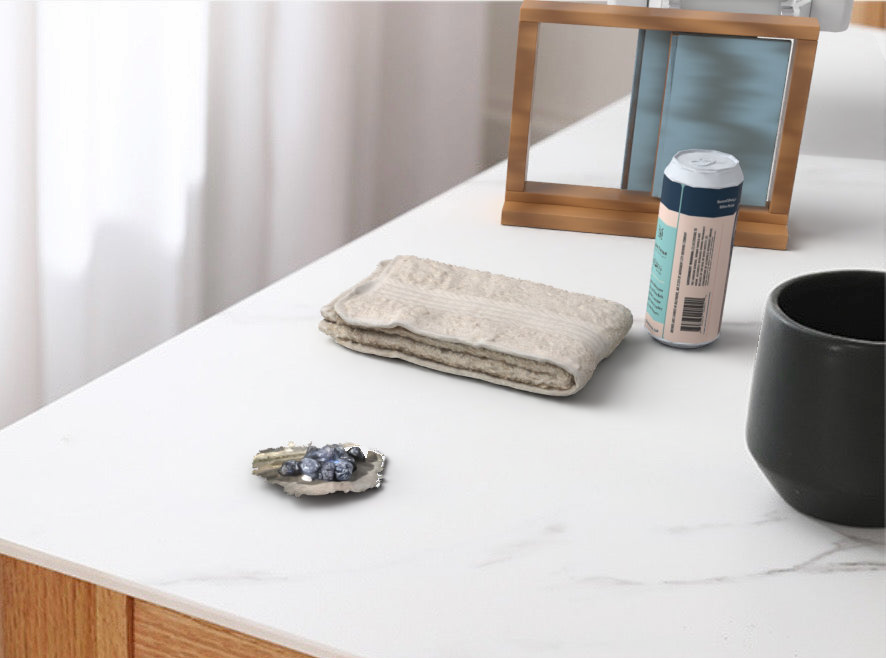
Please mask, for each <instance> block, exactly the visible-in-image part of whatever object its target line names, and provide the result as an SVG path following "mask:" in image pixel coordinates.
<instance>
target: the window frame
mask: <svg viewBox="0 0 886 658" xmlns="http://www.w3.org/2000/svg"><path fill="white" fill-rule="evenodd" d="M541 24H557V25H572V26H573V25H575V26H588V27H601V28H603V27H604V28H617V29H618V28H619V29H632V30H633V29H635V30H639V29H648V30H663V31H679V32H694V33H709V34H694V33H679V32H671V38H670V46H669V54H668V62H667V69H666V77H665V85H664V93H663V101H662V109H661V117H660V125H659V133H658V141H657V149H656V157H655V165H654V173H653V181H652V189H651V192H646V191H634V190H622V189H620V188H618V187H617V188H616V187H606V186H605V187H604V186H595V185H594V186H592V185H583V184H582V185H581V184H572V183H571V184H569V183H560V182H559V183H558V182H548V181H547V182H546V181H535V180H528V170H529V159H530V150H531V149H530V148H531V139H532V138H531V137H532V126H533V125H532V124H533V116H534V115H533V114H534V102H535V92H536V91H535V90H536V78H537V70H538V69H537V67H538V58H539V57H538V56H539V45H540V44H539V43H540V34H541V33H540V32H541ZM820 32H821V31H820V25H819V22H818V19H817V18H812V17H796V16H780V15H764V14H748V13H733V12H717V11H701V10H685V9H669V8H653V7H637V6H621V5H607V4H605V3H604V4H603V3H602V4H601V3H587V2H586V3H585V2H571V1H557V0H556V1H555V0H523V1H522V3H521V4H520V8H519V17H518V29H517V40H516V41H517V43H516V54H515V65H514V67H515V68H514V78H513V89H512V90H513V91H512V106H511V116H510V128H509V140H508V152H507V166H506V178H505V188H504V189H505V191H504V202H503V205H502V208H501V215H500V225H504V226H514V227H515V226H516V227H526V228H537V229H547V230H560V231H568V232H570V231H571V232H581V233H592V234H602V235H603V234H604V235H615V236H625V237H635V238H636V237H637V238H649V239H656V231H657V223H658V216H659V208H660V200H661V192H662V185H663V177H664V170H665V169H666V167H667V166H668V165H669V164H670V162H671V160H672V159H673V156H674V155H676V154H677V153H678V152H679V151H684V150H691V149H703V150H715V151H719V152H723V153H726V154H730V155H732V156H733V157H735V158H736V159H737V160H738V161H739V165H740V167H741V170H742V173H743V176H744V180H743V187H742V193H741V200H740V206H739V213H738V219H737V226H736V232H735V239H734V245H733V246H736V247H737V246H738V247H748V248H758V249H770V250H778V251H779V250H781V251H786V250H787V247H788V241H789V231H788V221H789V216H790V208H791V204H792V197H793V192H794V186H795V180H796V174H797V169H798V162H799V156H800V151H801V145H802V138H803V132H804V127H805V121H806V114H807V110H808V103H809V97H810V92H811V86H812V85H811V84H812V80H813V74H814V73H813V72H814V67H815V62H816V56H817V50H818V43H819V38H820V34H821V33H820ZM710 34H725V35H740V36H755V37H758V38H755V37H740V36H725V35H710ZM792 40H793V42H792Z"/></svg>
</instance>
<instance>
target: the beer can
mask: <svg viewBox="0 0 886 658" xmlns="http://www.w3.org/2000/svg"><path fill="white" fill-rule="evenodd" d="M743 180H744V176H743V173H742V170H741V167H740V165H739V161H738V160H737V159H736V158H735V157H733V156H732V155H730V154H726V153H723V152H719V151H715V150H703V149H691V150H684V151H679V152H678V153H677V154H676V155H674V156H673V159H672V160H671V162H670V164H669V165H668V166H667V167H666V169H665V170H664V177H663V185H662V192H661V200H660V208H659V216H658V223H657V231H656V238H654V246H653V247H654V248H653V256H652V261H651V270H650V278H649V285H648V286H649V287H648V293H647V301H646V309H645V316H644V317H645V318H644V325H643V326H644V329H645V331H646V332H647V333H648V334H649V335H650V337H652V338H654V339H655V340H656V341H658V342H659V343H661V344H664V345H667V346H670V347H673V348H680V349H696V348H701V347H703V346H705V345H708V344H711V343H713V342H715V341H716V340H718V339H719V337H720V335H721V331H722V330H721V329H722V322H723V317H724V310H725V303H726V296H727V291H728V284H729V277H730V272H731V265H732V258H733V251H734V246H735V245H734V239H735V232H736V226H737V219H738V213H739V206H740V200H741V193H742V187H743Z"/></svg>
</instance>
